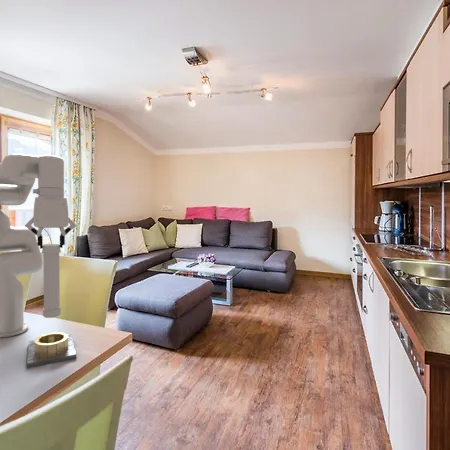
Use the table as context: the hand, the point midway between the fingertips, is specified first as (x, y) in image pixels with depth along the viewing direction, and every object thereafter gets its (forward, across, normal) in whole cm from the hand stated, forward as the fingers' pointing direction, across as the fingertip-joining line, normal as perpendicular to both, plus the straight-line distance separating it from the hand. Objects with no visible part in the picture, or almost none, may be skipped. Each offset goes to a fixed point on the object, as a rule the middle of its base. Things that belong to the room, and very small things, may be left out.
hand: (51, 247), depth 106 cm
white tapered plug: (+24, 0, 0) cm, 24 cm away
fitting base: (+37, 0, +2) cm, 37 cm away
